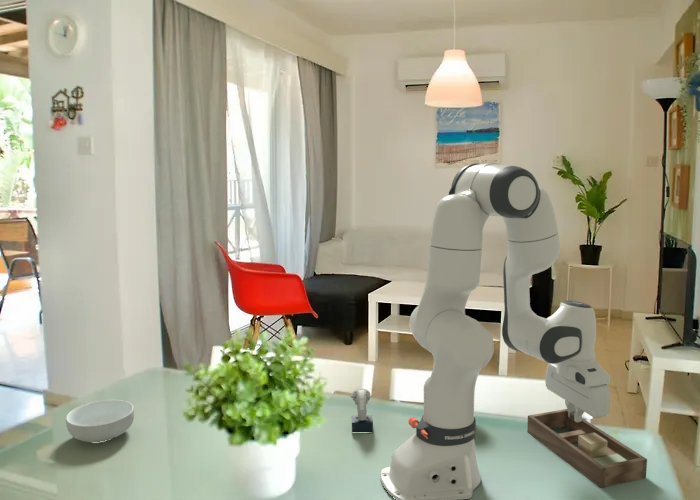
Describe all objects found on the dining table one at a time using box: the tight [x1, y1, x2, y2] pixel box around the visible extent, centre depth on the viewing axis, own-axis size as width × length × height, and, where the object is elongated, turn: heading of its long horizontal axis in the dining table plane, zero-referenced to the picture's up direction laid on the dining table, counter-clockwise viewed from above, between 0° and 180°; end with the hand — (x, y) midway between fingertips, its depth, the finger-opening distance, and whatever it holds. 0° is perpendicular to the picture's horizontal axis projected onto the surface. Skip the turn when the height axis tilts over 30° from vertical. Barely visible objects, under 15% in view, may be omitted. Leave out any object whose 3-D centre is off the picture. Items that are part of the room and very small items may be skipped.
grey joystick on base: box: [350, 388, 374, 433], centre depth 162 cm, size 6×8×11 cm
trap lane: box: [527, 408, 648, 489], centre depth 147 cm, size 12×28×4 cm, turn 17°
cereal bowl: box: [65, 399, 135, 443], centre depth 162 cm, size 17×17×7 cm
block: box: [577, 433, 607, 458], centre depth 144 cm, size 4×4×4 cm
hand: (574, 419), depth 151 cm, fingers closed
